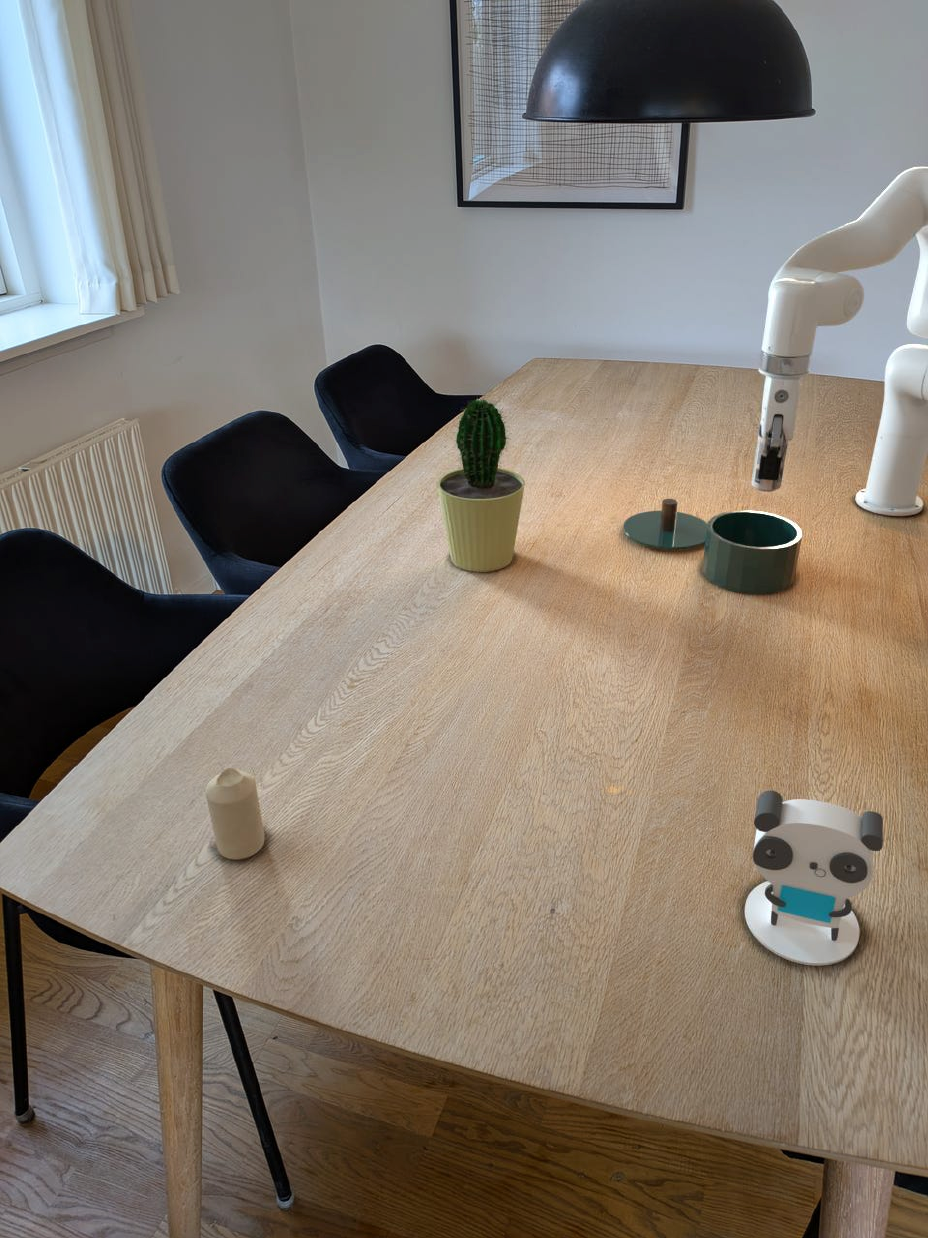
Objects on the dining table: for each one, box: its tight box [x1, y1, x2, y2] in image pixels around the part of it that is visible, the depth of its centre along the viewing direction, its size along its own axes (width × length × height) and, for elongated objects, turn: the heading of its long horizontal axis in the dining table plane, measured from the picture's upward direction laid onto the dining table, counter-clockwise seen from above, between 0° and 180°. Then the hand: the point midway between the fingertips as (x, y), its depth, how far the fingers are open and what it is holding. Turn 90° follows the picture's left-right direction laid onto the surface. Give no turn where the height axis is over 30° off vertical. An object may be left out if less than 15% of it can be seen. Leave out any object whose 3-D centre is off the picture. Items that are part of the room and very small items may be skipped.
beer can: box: [750, 418, 789, 493], centre depth 154 cm, size 5×5×12 cm
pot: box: [701, 510, 803, 595], centre depth 163 cm, size 16×16×8 cm
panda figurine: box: [744, 790, 884, 967], centre depth 94 cm, size 12×11×15 cm
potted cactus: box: [436, 394, 526, 573], centre depth 164 cm, size 15×15×30 cm
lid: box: [622, 498, 708, 551], centre depth 178 cm, size 17×17×7 cm
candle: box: [205, 767, 265, 861], centre depth 107 cm, size 6×6×10 cm
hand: (767, 471), depth 155 cm, fingers closed on beer can, 4 cm apart
